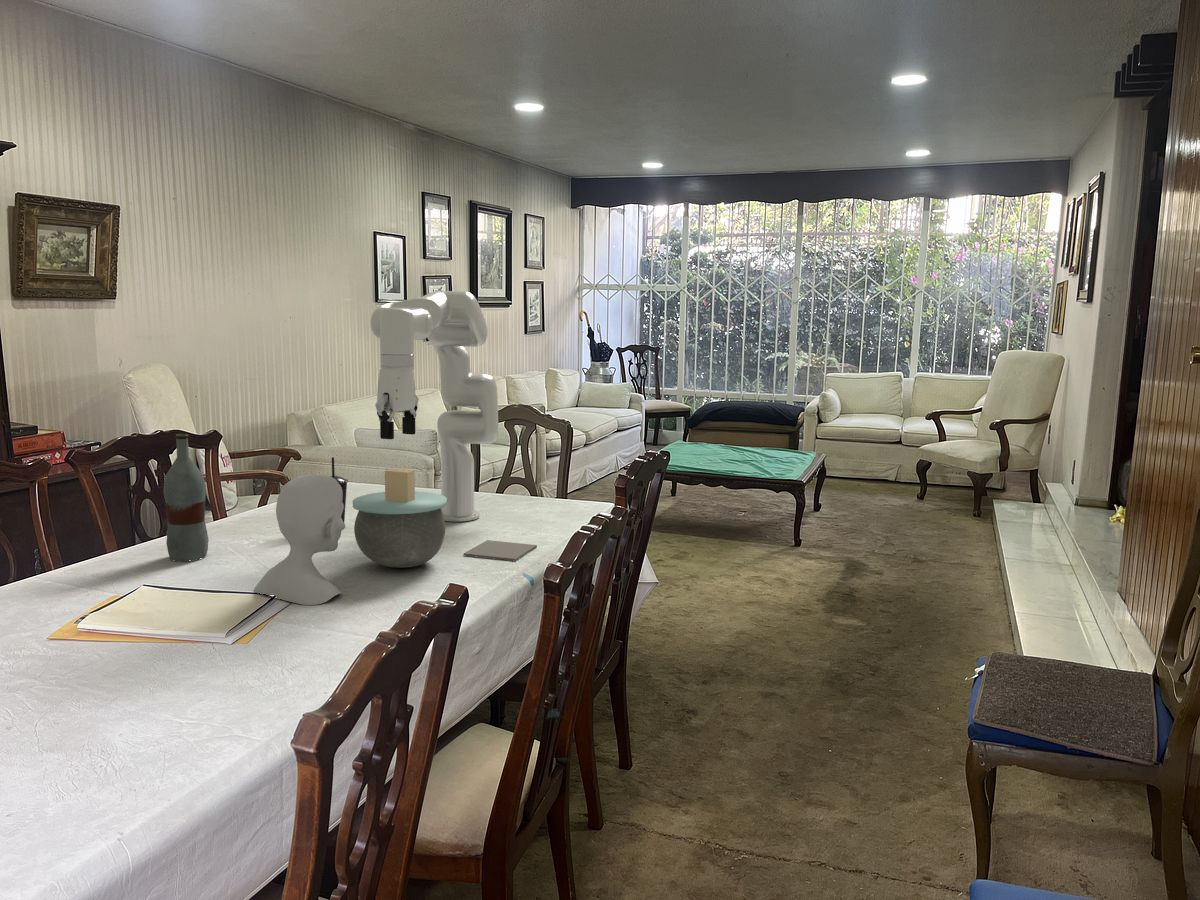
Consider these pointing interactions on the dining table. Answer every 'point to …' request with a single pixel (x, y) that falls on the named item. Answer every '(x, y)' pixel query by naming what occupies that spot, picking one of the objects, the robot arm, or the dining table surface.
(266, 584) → the head bust
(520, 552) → the mat
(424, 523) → the bowl
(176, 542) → the bottle
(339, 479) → the walkie talkie
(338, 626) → the dining table surface
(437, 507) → the lid
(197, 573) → the dining table surface
